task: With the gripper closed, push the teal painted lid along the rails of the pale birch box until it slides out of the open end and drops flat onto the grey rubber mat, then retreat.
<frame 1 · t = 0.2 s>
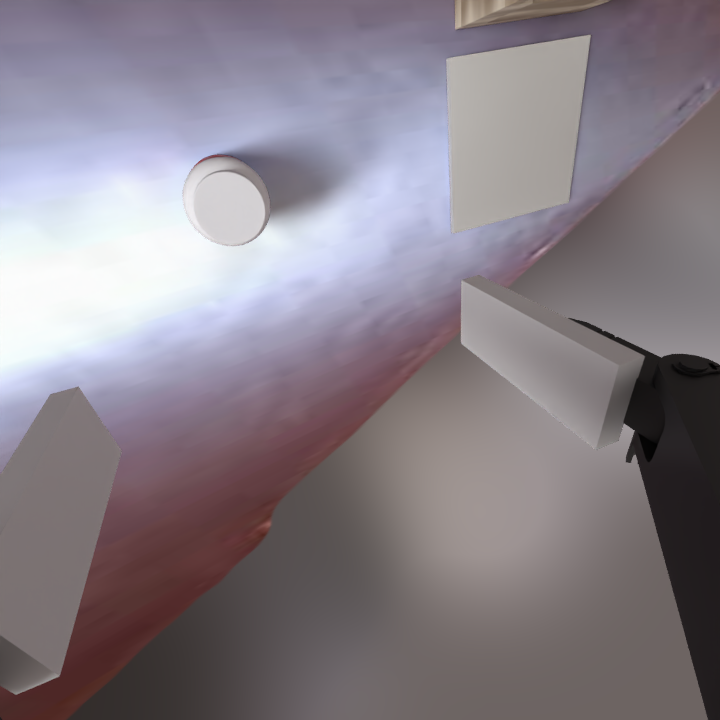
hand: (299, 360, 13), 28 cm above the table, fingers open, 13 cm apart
mat: (514, 140, 41), on the table
pill bottle: (224, 192, 35), on the table
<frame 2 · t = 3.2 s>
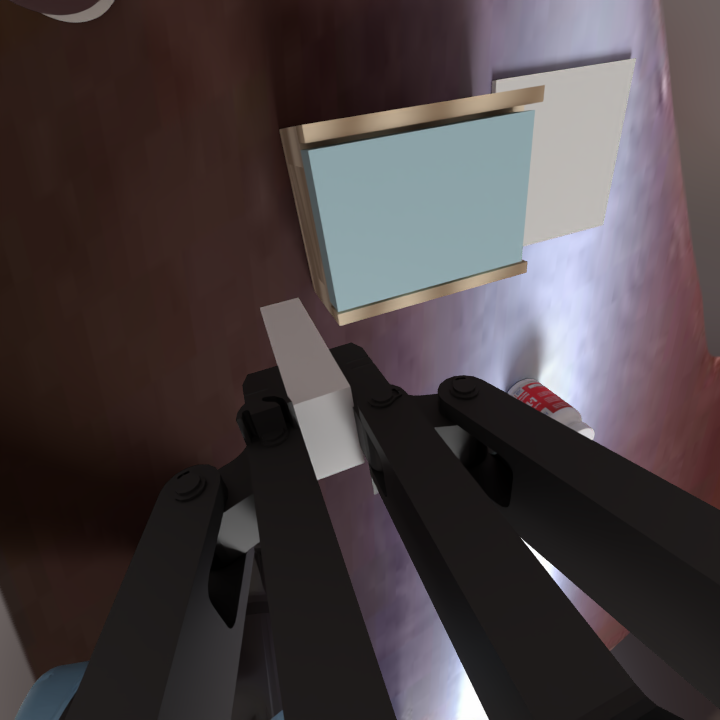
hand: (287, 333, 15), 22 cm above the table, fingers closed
mat: (553, 163, 40), on the table
box: (389, 198, 36), on the table
pill bottle: (519, 394, 57), on the table
lid: (418, 210, 31), point 7 cm above the table, touching box
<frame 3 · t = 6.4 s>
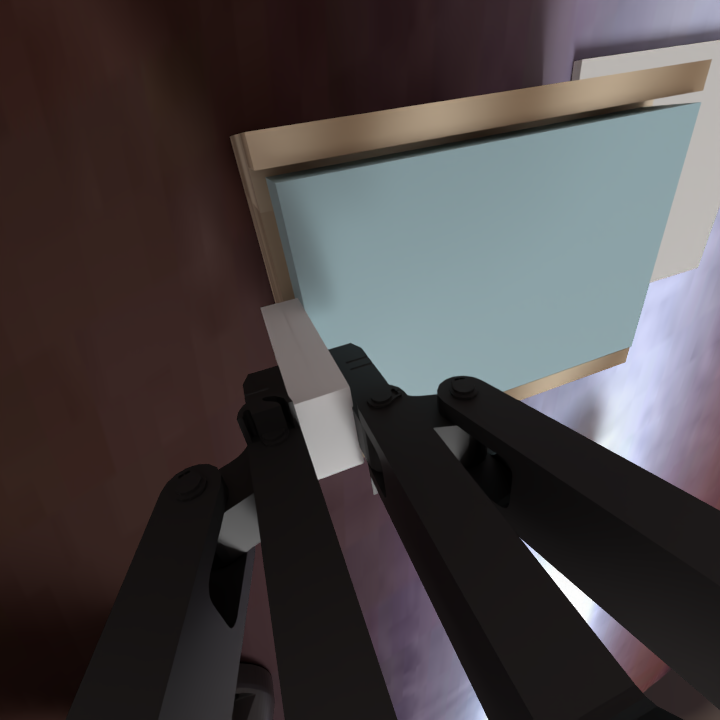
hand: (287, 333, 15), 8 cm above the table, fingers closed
mat: (644, 185, 28), on the table
box: (409, 241, 24), on the table
lid: (473, 273, 18), point 7 cm above the table, touching gripper
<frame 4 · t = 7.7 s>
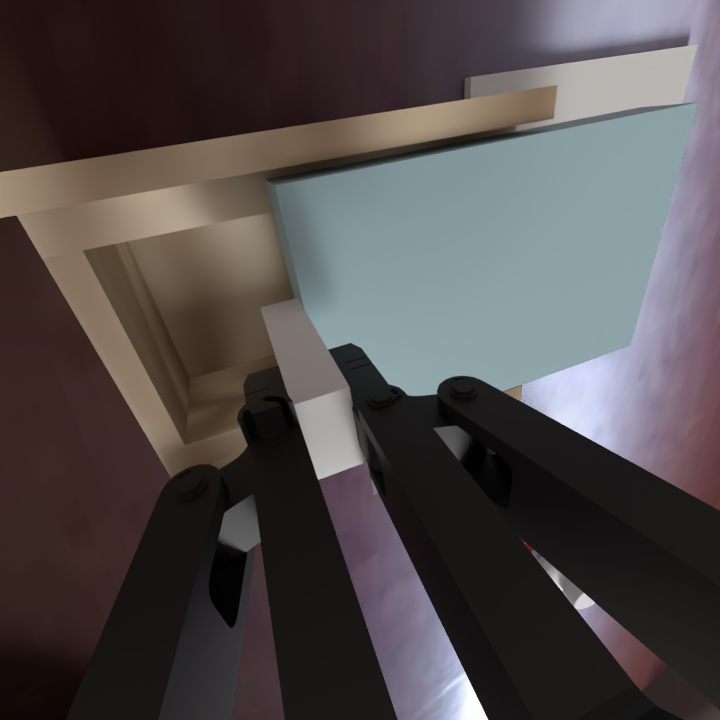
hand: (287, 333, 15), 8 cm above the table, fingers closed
mat: (563, 205, 26), on the table
box: (298, 269, 22), on the table
pill bottle: (513, 496, 43), on the table
lid: (472, 273, 18), point 7 cm above the table, touching box, gripper
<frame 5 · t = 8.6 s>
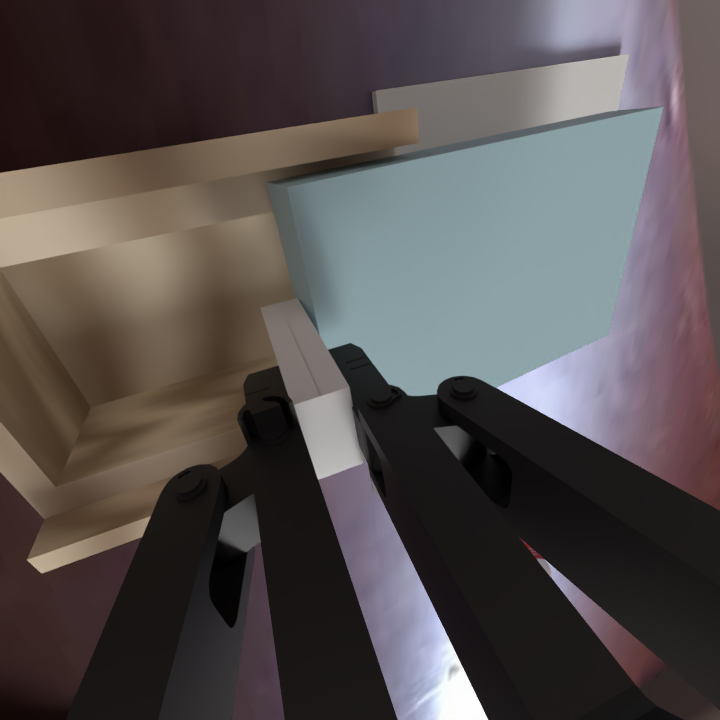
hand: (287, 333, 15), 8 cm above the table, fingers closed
mat: (497, 221, 25), on the table
box: (205, 291, 21), on the table
lid: (465, 272, 18), point 7 cm above the table, tilted 7°, touching box, gripper
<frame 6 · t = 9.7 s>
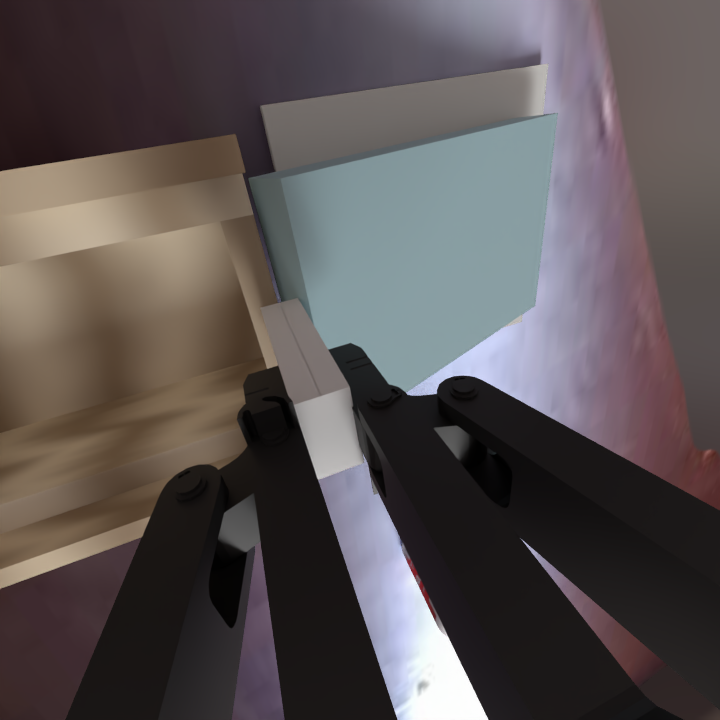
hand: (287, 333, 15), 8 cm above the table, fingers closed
mat: (419, 238, 24), on the table
box: (94, 317, 20), on the table
pill bottle: (425, 532, 40), on the table
lid: (419, 258, 21), point 4 cm above the table, tilted 20°, touching gripper, mat
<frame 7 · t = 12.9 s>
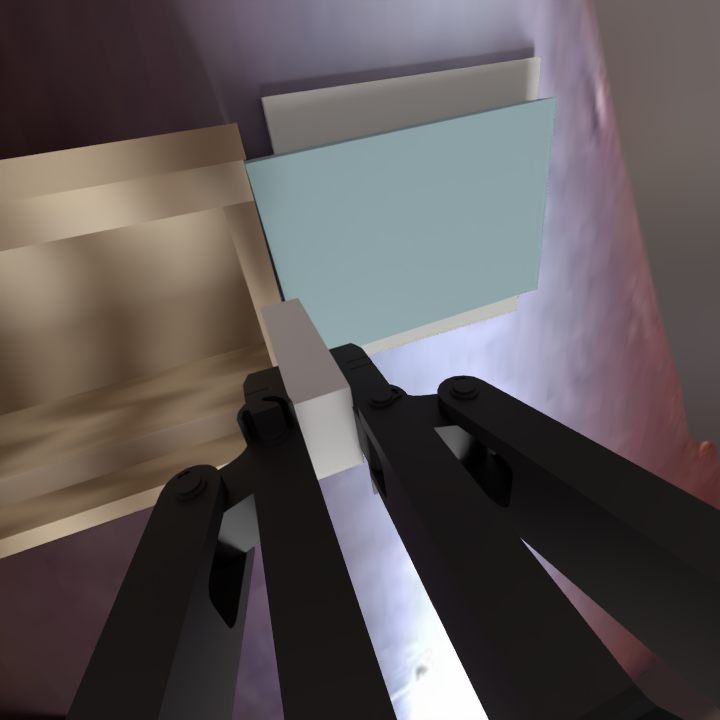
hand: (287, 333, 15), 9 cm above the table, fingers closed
mat: (416, 228, 25), on the table
box: (103, 302, 21), on the table
lid: (404, 231, 24), point 1 cm above the table, touching mat
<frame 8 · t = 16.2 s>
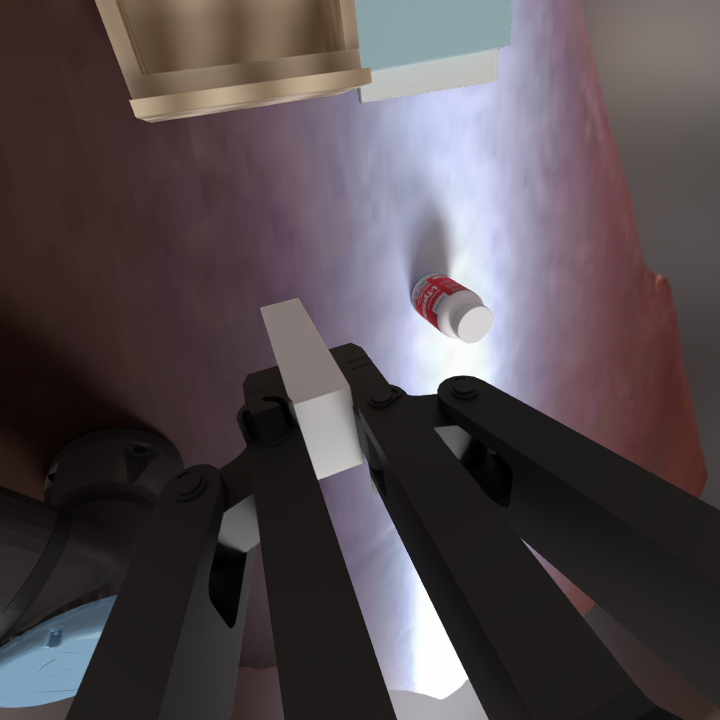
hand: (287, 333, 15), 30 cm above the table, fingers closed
box: (226, 10, 32), on the table
pill bottle: (429, 293, 53), on the table
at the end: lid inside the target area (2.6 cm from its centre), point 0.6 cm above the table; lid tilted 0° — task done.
